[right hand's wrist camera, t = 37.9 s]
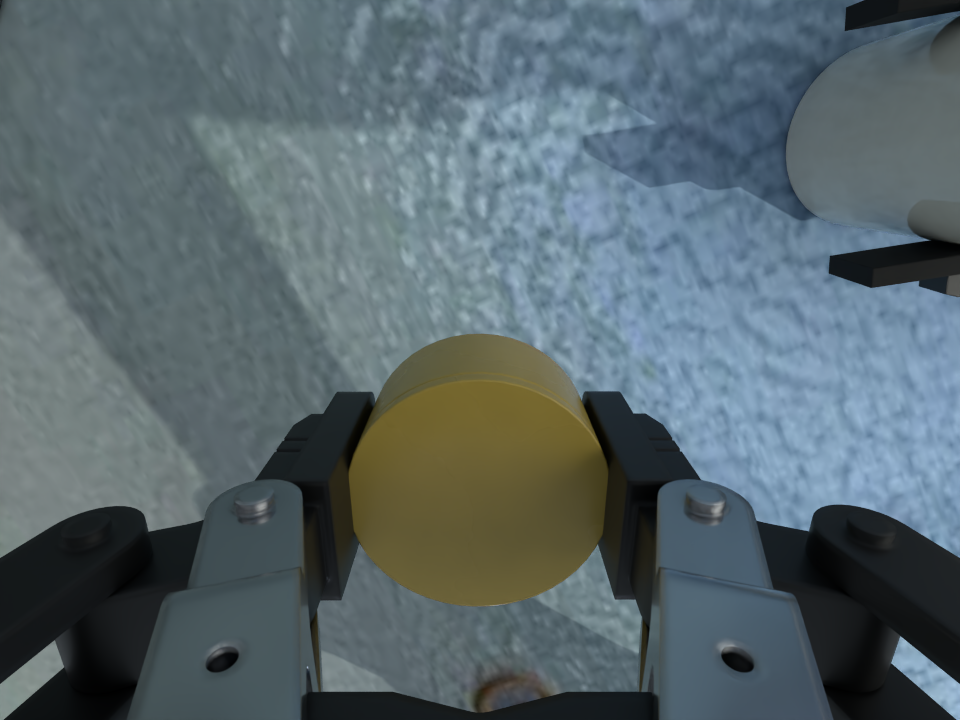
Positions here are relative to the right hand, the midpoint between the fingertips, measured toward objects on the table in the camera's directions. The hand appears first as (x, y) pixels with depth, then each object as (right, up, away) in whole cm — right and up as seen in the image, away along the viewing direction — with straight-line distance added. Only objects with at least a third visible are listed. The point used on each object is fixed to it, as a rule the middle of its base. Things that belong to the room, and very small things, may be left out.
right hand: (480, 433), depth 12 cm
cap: (0, -1, -2) cm, 2 cm away
